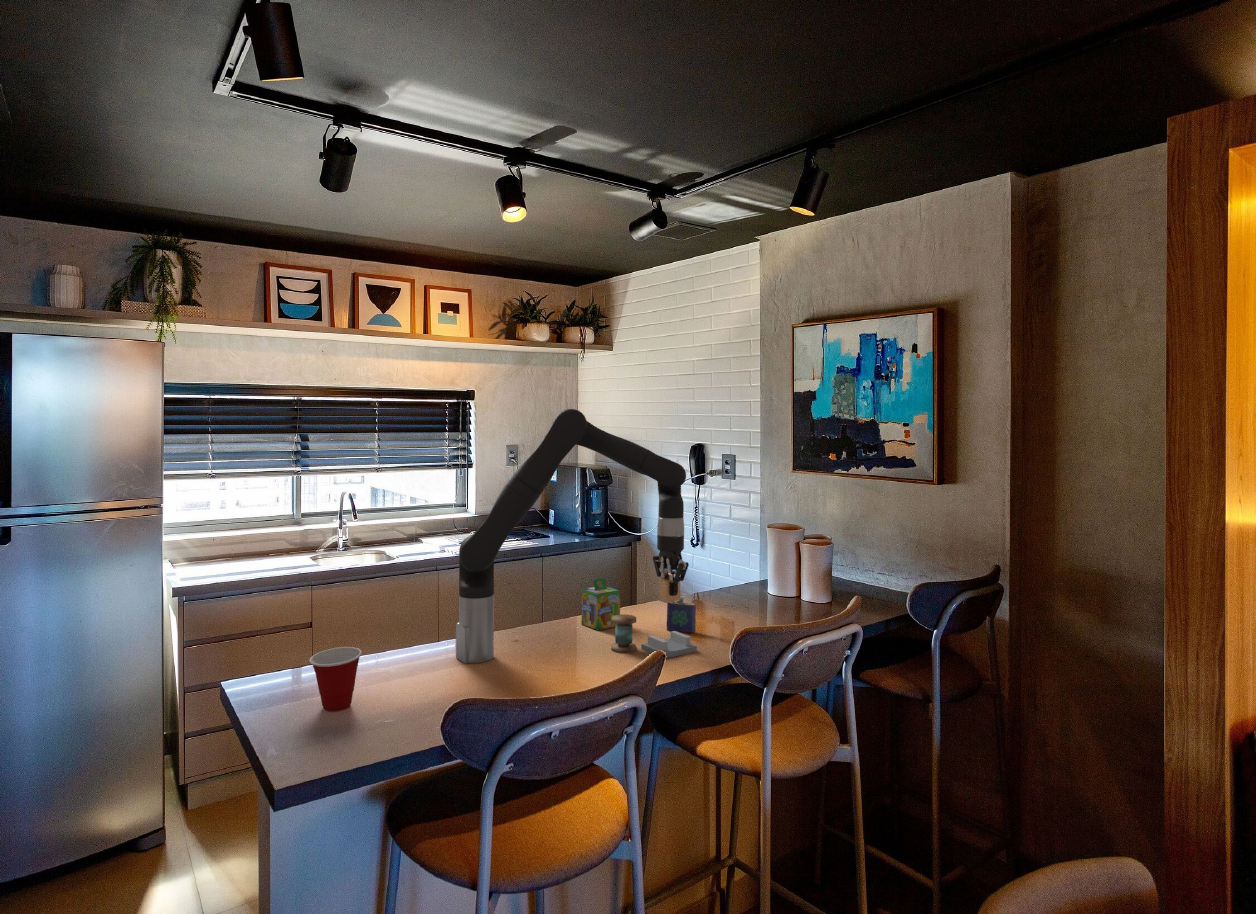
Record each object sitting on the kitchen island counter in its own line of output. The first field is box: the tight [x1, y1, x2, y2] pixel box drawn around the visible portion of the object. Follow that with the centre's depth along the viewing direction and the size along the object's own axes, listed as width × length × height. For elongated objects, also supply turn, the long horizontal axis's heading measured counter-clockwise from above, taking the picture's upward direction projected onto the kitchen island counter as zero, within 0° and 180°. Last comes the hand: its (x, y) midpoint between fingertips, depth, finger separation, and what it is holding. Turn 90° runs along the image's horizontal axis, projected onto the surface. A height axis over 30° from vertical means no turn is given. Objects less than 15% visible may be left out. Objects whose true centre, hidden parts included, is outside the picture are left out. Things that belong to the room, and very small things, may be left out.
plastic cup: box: [309, 646, 363, 713], centre depth 164 cm, size 11×11×12 cm
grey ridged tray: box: [640, 631, 698, 659], centre depth 209 cm, size 12×10×4 cm
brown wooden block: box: [658, 576, 681, 604], centre depth 208 cm, size 5×3×6 cm, turn 125°
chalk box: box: [580, 577, 621, 631], centre depth 234 cm, size 9×9×15 cm
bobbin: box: [610, 613, 637, 654], centre depth 209 cm, size 7×7×9 cm
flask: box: [666, 596, 697, 635], centre depth 228 cm, size 9×3×11 cm, turn 68°
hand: (669, 594), depth 208 cm, fingers closed on brown wooden block, 2 cm apart
